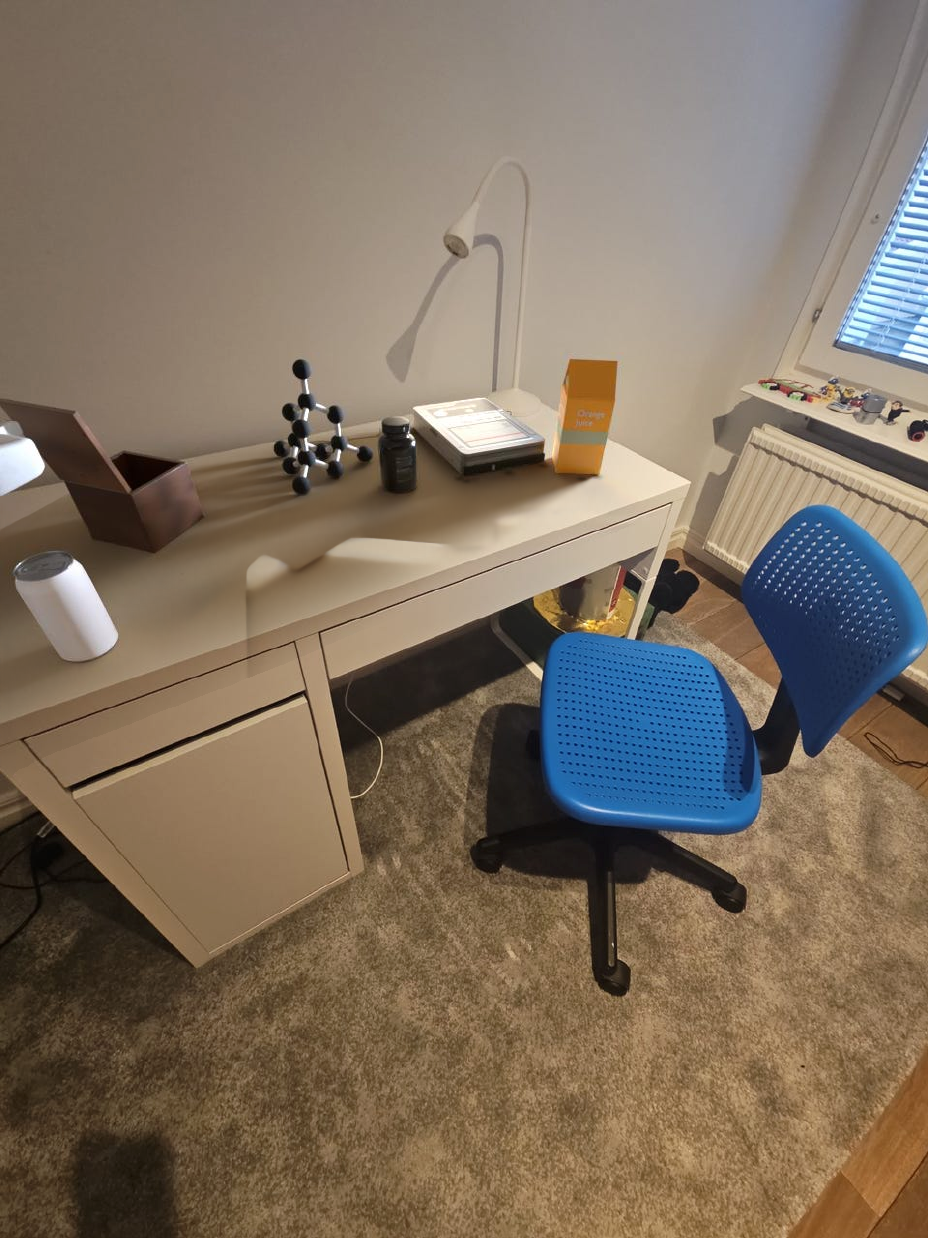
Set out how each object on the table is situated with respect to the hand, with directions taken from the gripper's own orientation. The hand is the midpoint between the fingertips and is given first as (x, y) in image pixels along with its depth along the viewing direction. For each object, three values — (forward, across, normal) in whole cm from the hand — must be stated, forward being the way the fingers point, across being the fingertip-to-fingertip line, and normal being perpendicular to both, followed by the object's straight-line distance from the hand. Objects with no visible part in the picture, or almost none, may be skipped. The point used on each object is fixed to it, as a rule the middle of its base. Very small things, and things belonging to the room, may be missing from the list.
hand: (11, 425), depth 64 cm
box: (+12, 0, -21) cm, 24 cm away
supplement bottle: (+40, +32, -21) cm, 55 cm away
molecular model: (+41, +13, -21) cm, 48 cm away
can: (-12, +13, -21) cm, 28 cm away
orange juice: (+61, +62, -21) cm, 89 cm away
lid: (+6, 0, -5) cm, 7 cm away
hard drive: (+64, +40, -21) cm, 78 cm away
